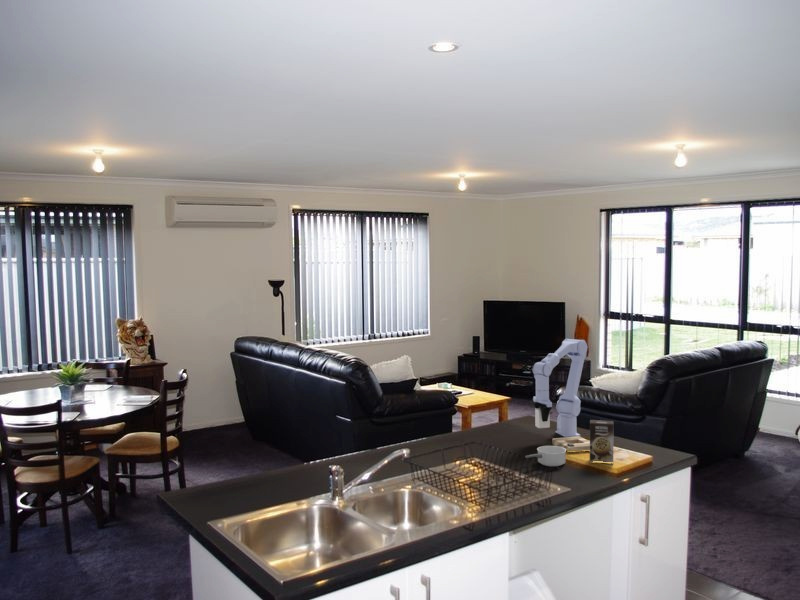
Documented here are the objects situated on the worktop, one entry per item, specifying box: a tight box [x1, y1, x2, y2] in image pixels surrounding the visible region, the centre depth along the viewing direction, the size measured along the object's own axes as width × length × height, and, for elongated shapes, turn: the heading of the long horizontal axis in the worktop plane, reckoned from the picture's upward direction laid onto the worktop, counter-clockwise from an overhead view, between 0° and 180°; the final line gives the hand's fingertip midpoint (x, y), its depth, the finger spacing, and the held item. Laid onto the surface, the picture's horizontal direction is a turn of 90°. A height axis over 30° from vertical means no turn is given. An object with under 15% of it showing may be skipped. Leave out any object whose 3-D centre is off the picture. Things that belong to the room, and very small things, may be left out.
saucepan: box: [524, 445, 567, 467], centre depth 264 cm, size 12×20×6 cm, turn 125°
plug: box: [534, 407, 553, 429], centre depth 297 cm, size 4×7×8 cm, turn 104°
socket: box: [551, 435, 590, 451], centre depth 288 cm, size 15×13×3 cm
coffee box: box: [589, 419, 615, 463], centre depth 267 cm, size 9×6×16 cm
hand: (542, 420), depth 297 cm, fingers closed on plug, 4 cm apart
